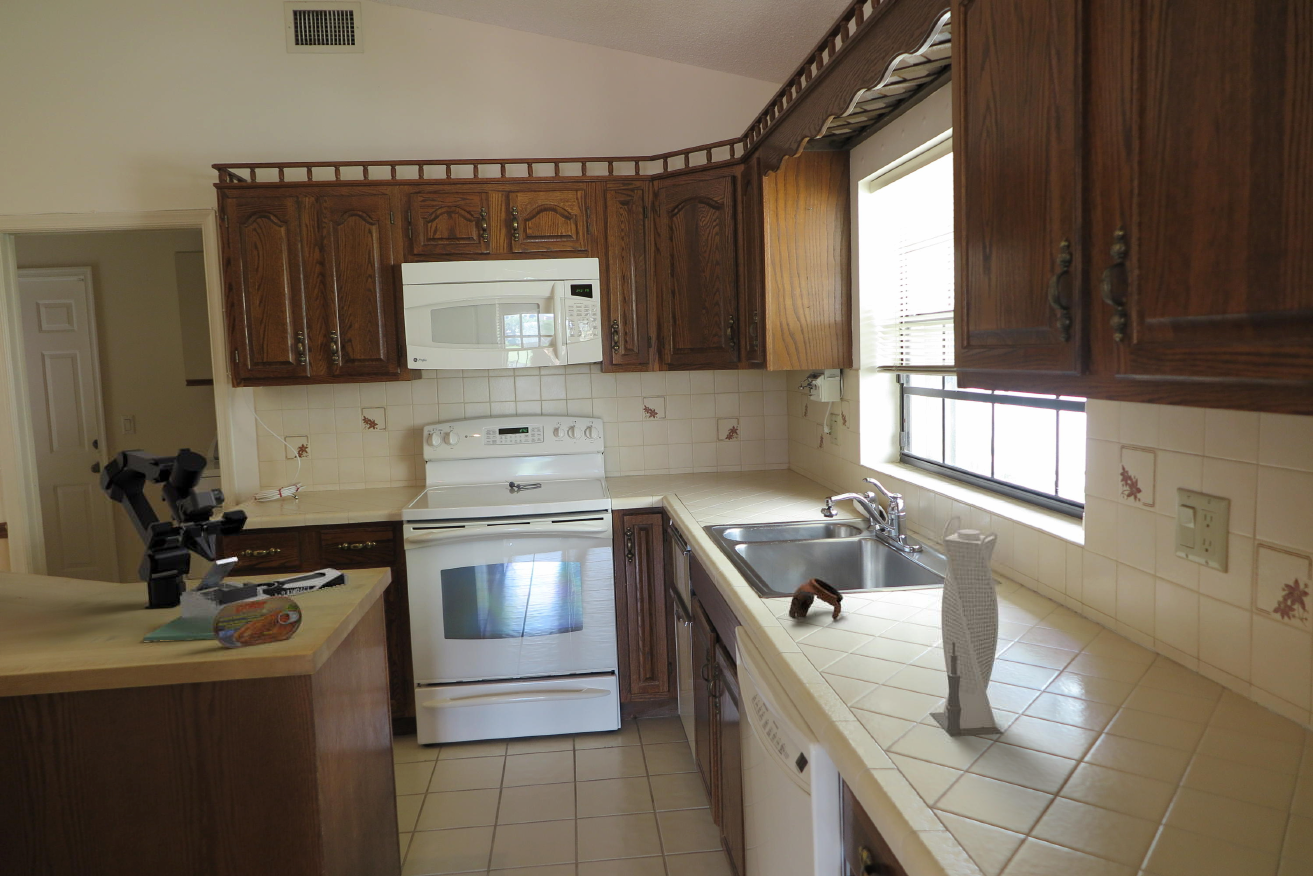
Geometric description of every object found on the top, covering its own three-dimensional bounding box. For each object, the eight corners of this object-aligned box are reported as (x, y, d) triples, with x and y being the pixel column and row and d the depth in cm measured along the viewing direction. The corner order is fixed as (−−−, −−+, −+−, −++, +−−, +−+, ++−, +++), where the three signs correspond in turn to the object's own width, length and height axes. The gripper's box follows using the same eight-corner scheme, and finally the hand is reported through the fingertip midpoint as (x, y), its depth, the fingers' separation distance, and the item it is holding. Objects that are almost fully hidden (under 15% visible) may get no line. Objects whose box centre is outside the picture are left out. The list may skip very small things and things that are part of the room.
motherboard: (143, 642, 157) (143, 637, 157) (197, 611, 177) (196, 606, 176) (250, 637, 158) (250, 632, 158) (291, 607, 178) (291, 602, 177)
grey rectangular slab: (196, 592, 169) (195, 588, 169) (216, 588, 172) (215, 583, 172) (217, 564, 162) (215, 560, 162) (237, 560, 165) (236, 556, 165)
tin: (214, 652, 150) (210, 607, 149) (214, 647, 153) (211, 603, 152) (303, 637, 157) (300, 594, 156) (302, 632, 160) (299, 590, 159)
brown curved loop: (797, 608, 166) (818, 574, 165) (834, 636, 161) (855, 601, 160) (769, 608, 157) (791, 572, 156) (807, 638, 151) (830, 601, 150)
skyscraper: (925, 711, 115) (924, 515, 113) (982, 708, 116) (982, 513, 113) (950, 738, 107) (950, 527, 104) (1010, 735, 107) (1012, 524, 105)
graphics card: (348, 572, 196) (235, 594, 178) (349, 586, 196) (236, 610, 179) (331, 565, 203) (221, 587, 186) (332, 579, 203) (222, 601, 186)
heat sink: (182, 619, 167) (178, 583, 167) (231, 607, 175) (228, 573, 174) (216, 632, 158) (213, 594, 157) (267, 618, 166) (264, 582, 165)
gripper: (144, 483, 162) (174, 544, 156) (239, 472, 177) (269, 527, 171) (132, 519, 167) (159, 579, 162) (225, 505, 182) (253, 560, 176)
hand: (213, 560), depth 167 cm, fingers closed
